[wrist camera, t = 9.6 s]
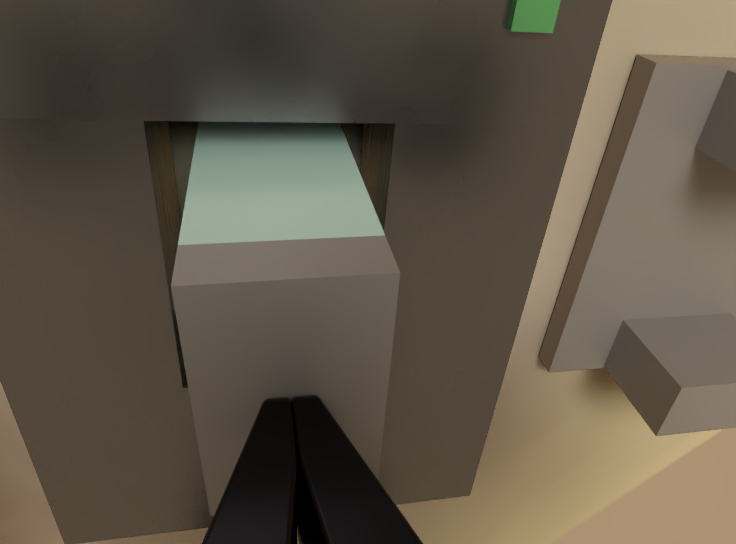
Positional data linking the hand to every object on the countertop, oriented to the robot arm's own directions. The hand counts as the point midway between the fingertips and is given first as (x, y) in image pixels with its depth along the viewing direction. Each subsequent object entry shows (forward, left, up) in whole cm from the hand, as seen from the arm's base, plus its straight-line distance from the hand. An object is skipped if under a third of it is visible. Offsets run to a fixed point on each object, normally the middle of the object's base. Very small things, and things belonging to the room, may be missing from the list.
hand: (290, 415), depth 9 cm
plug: (0, 0, -7) cm, 7 cm away
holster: (-1, -13, -7) cm, 15 cm away
